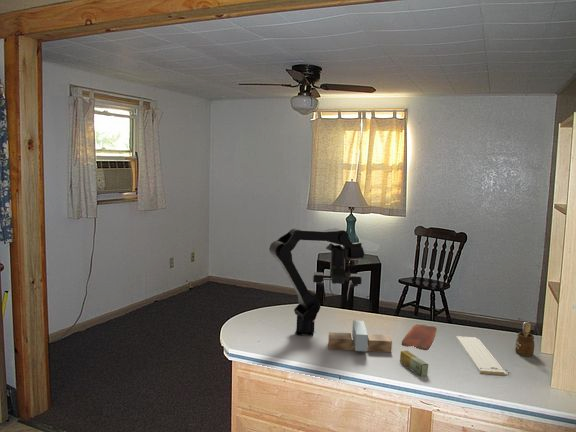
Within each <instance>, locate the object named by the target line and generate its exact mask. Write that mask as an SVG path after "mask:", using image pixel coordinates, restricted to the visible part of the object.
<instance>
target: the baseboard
mask: <svg viewBox="0 0 576 432" xmlns="http://www.w3.org/2000/svg"><path fill="white" fill-rule="evenodd" d="M455 339H456V340H457V342H458V343H459V344H460V346H461V348H462V349H463V350H464V353H466V355H467V357H468V358H469V359H470V361H471V363H472V364H473V365H474V367H475V369H477V372H479V374H488V375H499V376H508V375H510V376H511V374H512V373H511V372H510V371H506V370H505V369H504V368H503V367H502V366H501V364H500V363H499V362H498V360H497V359H496V358H495V357H494V356H493V355H492V353H491V352H490V351H489V349H488V348H487V347H486V346H485V345H484V343H483V342H482V341H481V340H480V338H477V337H476V336H475V337H473V336H472V337H471V336H460V335H456V337H455ZM507 372H508V373H507Z"/></svg>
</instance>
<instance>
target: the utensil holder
mask: <svg viewBox="0 0 576 432" xmlns="http://www.w3.org/2000/svg"><path fill="white" fill-rule="evenodd" d="M531 326H532V324H530V322H528V321H525V322H523V323H522V331H519V332H518V333H517V338H516V340H515V347H514V348H515V349H514V350H515V353H516V354H517V355H519V356H523V357H533V355H534V351H535V340H534V339H535V336H534V334H532V333H531V328H532V327H531Z"/></svg>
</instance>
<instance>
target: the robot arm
mask: <svg viewBox="0 0 576 432" xmlns="http://www.w3.org/2000/svg"><path fill="white" fill-rule="evenodd" d="M300 241H315V242H317V241H318V242H319V241H320V242H328V243H329V244H328V245H327V246H326V247H325V250H328V251H330V266H329V274H326V275H325V274H324V272H322V271H321V272H319V271H317V272H316V271H315V272H314V273H313V275H312V277H313V278H312V282H313V283H316V285H319V286H320V289H321V292H322V296H323V299H324V300H326V290H325V281H331V283H332V284H335V285H336V284H338V285H339V284H341V285H344V284H345V282H349V283H348V289H347V295H346V296H347V297H346V298H347V300H346V301H349V299H350V296H352V295H351V294H352V292H353V291H354V289H355V287H358V286H359V285H362V276H361V275H360V273H351V272H350V270H345V269H346V260H347V261H355V260H362V259H363V258H364V256H365V251H364V250H365V249H364V248H363V246H362V243H361V242H358V241H357V242H352V240H351V239H350V238H349V233H348V231H346V230H344V229H340V228H338V227H334V228H327V229H325V230H320V229H303V228H302V229H300V228H299V229H297V228H292V229H290V230H289V231H288V232H287V233H284V235H282V236H280V237H278V239H277V240H275V241H272V242H271V244H270V245H269V248H268V249H269V250H268V251H269V252H270V254H271V255H272V257H273V258H274V259H275V260H276V261H277V262H278V263H279V264H280V265H281V267H282V269H283V270H284V273H285V274H286V275H287V278H288V279H289V281H290V283H291V285H292V287H293V288H294V290H295V292H296V294H297V301H298V305H296V306H295V308H294V309H293V312H294V314H295V315H296V327H295V328H296V329H295V335H296V336H297V335H298V336H313V335H314V333H315V321H316V318H317V315H318V314H319V312H320V309H321V304H320V303H321V301H320V300H319V298H318V295H317V294H316V293H315V292H313V291H312V290H310V289H308V288H307V285H306V284H305V282H304V281H303V278H302V277H301V274H300V273H299V270H298V269H297V268H296V265H295V263H294V261H293V254H292V251H293V250H295V248H296V246H297V245H298V242H300ZM334 244H335V245H334Z"/></svg>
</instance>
